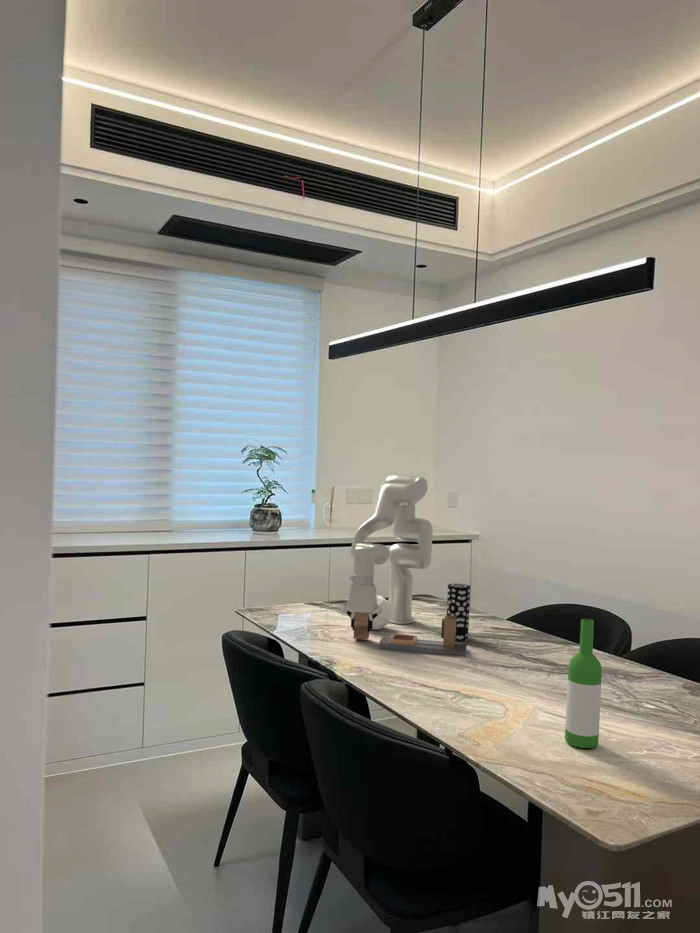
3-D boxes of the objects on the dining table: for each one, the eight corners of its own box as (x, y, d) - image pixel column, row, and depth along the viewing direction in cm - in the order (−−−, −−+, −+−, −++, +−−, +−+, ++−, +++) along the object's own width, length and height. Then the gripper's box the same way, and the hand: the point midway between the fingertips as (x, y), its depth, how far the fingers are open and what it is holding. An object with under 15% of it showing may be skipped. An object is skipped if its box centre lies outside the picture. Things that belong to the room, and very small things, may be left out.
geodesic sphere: (389, 621, 266) (392, 588, 274) (353, 618, 268) (357, 585, 276) (391, 637, 277) (394, 605, 285) (356, 634, 280) (360, 602, 288)
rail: (382, 641, 259) (384, 608, 258) (466, 649, 253) (468, 615, 253) (378, 648, 249) (380, 614, 249) (465, 657, 243) (467, 622, 243)
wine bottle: (591, 738, 176) (597, 617, 176) (603, 751, 168) (609, 624, 168) (560, 737, 176) (566, 615, 175) (570, 750, 168) (577, 623, 168)
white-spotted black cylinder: (461, 643, 262) (463, 588, 262) (441, 638, 267) (443, 585, 267) (471, 638, 268) (474, 585, 268) (452, 634, 274) (454, 582, 273)
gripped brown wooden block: (367, 639, 257) (368, 612, 257) (353, 638, 258) (354, 611, 258) (369, 636, 262) (370, 609, 262) (355, 635, 263) (356, 608, 262)
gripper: (338, 580, 257) (336, 630, 257) (385, 584, 254) (383, 634, 254) (342, 576, 264) (340, 625, 265) (388, 580, 261) (386, 629, 262)
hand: (361, 629), depth 259 cm, fingers closed on gripped brown wooden block, 5 cm apart
